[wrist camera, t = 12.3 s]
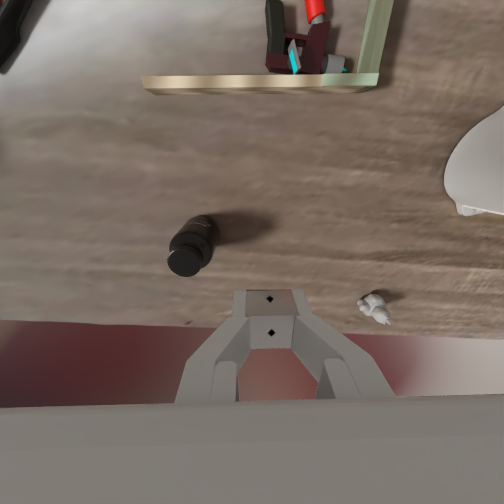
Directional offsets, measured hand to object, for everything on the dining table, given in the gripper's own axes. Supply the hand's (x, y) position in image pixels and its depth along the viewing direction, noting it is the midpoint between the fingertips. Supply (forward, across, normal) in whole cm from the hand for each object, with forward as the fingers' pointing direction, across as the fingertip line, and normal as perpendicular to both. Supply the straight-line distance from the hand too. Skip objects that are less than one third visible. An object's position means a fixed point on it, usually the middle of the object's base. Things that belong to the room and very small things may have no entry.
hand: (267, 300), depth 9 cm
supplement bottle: (+29, +10, +8) cm, 32 cm away
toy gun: (+30, -8, -19) cm, 36 cm away
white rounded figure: (+29, -27, +26) cm, 48 cm away
